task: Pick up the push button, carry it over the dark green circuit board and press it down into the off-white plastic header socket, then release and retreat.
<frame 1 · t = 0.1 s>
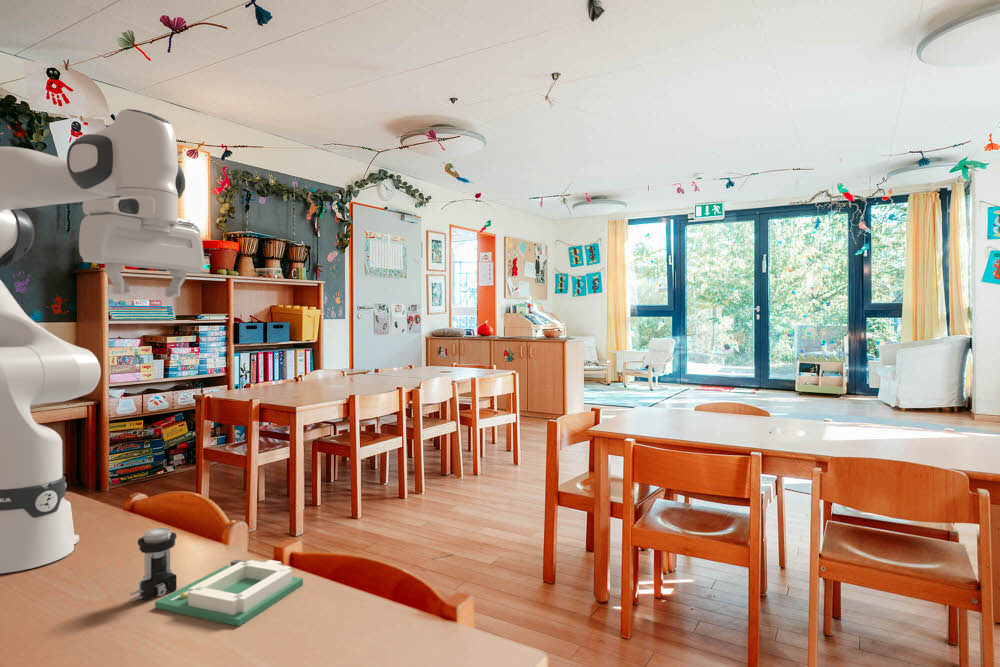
hand: (148, 295, 95), 48 cm above the table, tool pointing down, fingers open, 8 cm apart
lead: (256, 571, 100), on the table
push button: (153, 596, 91), on the table
board: (232, 595, 91), on the table
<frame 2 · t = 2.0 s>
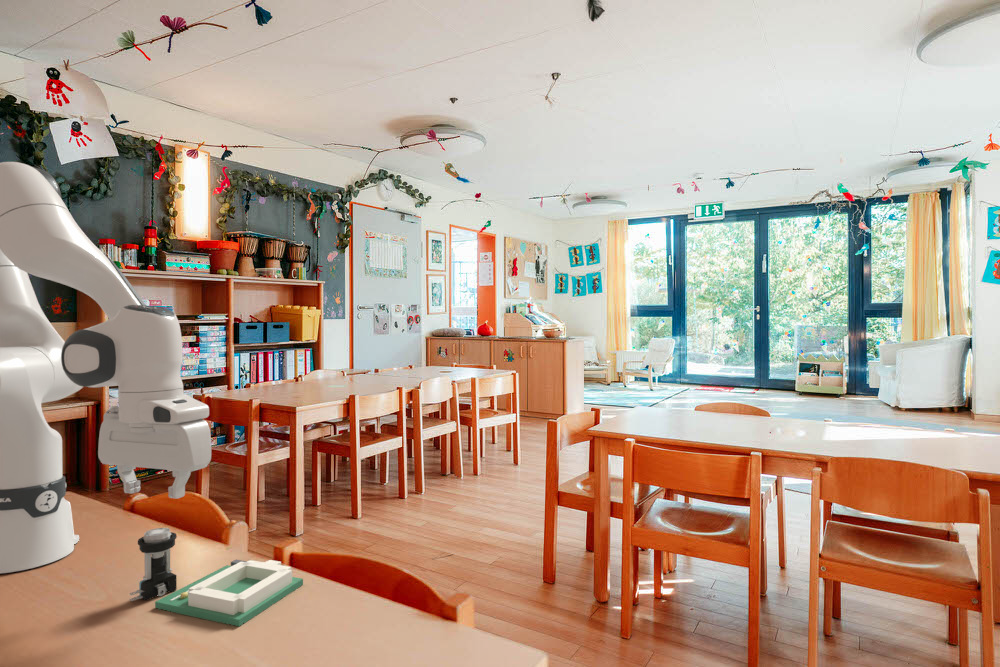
hand: (154, 494, 91), 16 cm above the table, tool pointing down, fingers open, 8 cm apart
nothing on the table moved.
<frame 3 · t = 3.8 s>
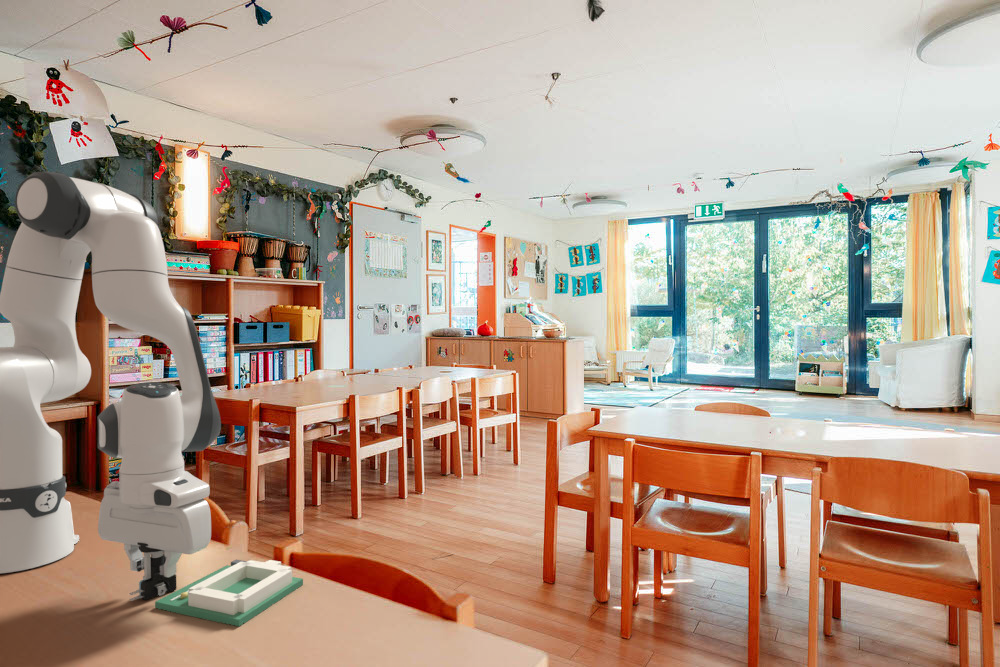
hand: (153, 572, 91), 4 cm above the table, tool pointing down, fingers closed on push button, 5 cm apart
push button: (153, 596, 91), on the table, touching gripper
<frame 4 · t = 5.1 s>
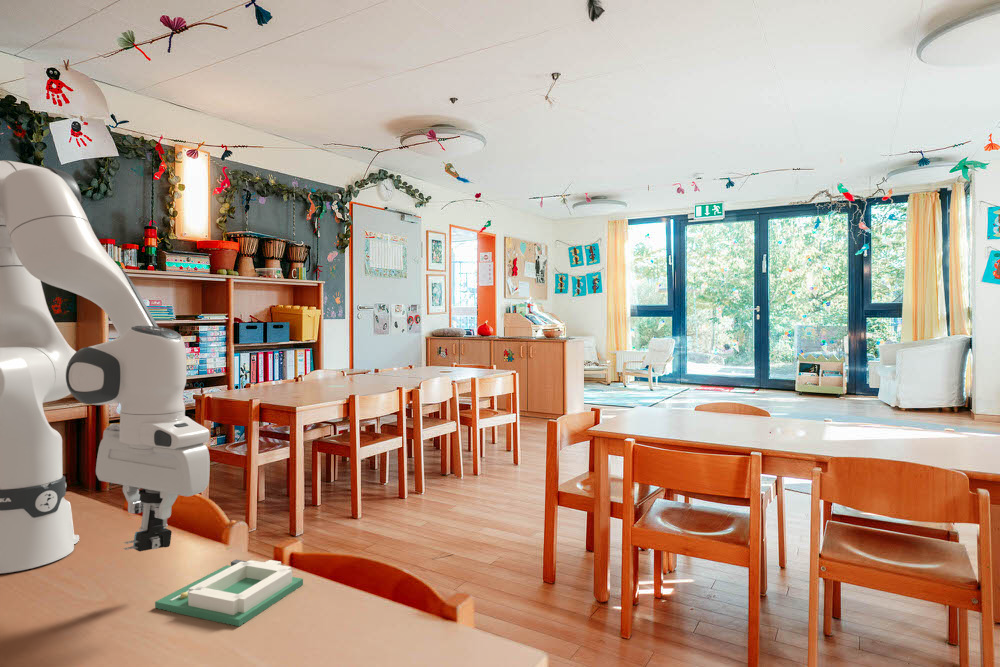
hand: (149, 515, 91), 13 cm above the table, tool pointing down, fingers closed on push button, 4 cm apart
push button: (146, 549, 91), point 7 cm above the table, touching gripper
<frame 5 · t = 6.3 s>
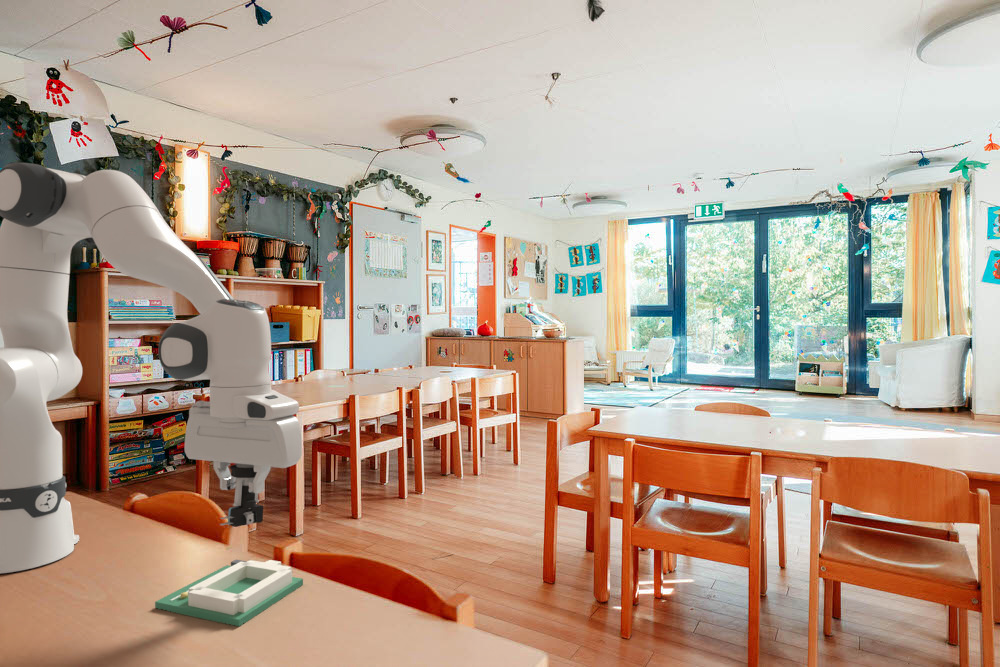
hand: (242, 490, 90), 17 cm above the table, tool pointing down, fingers closed on push button, 4 cm apart
push button: (240, 525, 90), point 11 cm above the table, touching gripper
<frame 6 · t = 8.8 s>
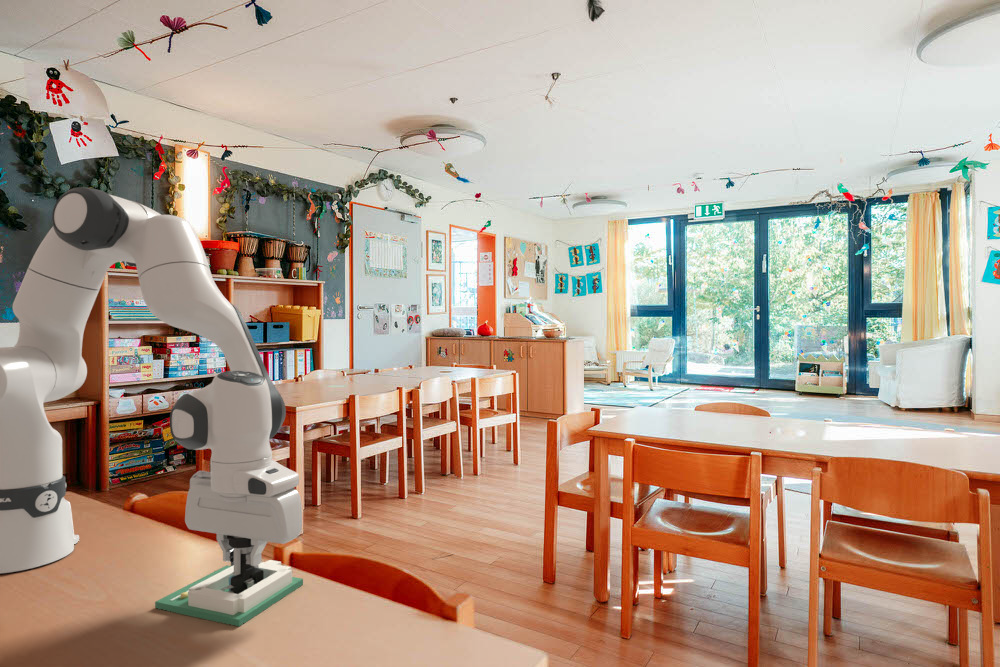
hand: (242, 562, 90), 6 cm above the table, tool pointing down, fingers closed on push button, 3 cm apart
push button: (241, 592, 90), point 1 cm above the table, touching board, gripper
when the fingers open (6 cm above the table, at t = 8.8 s): push button stays where it is, resting on board.
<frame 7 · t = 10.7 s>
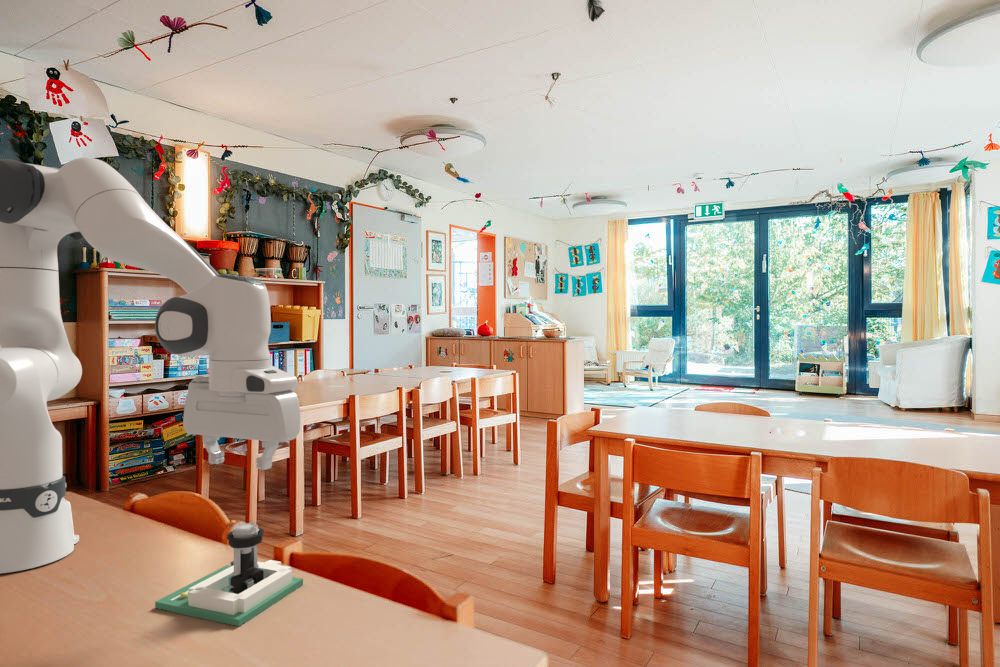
hand: (240, 465, 90), 21 cm above the table, tool pointing down, fingers open, 8 cm apart
push button: (241, 592, 90), point 1 cm above the table, touching board
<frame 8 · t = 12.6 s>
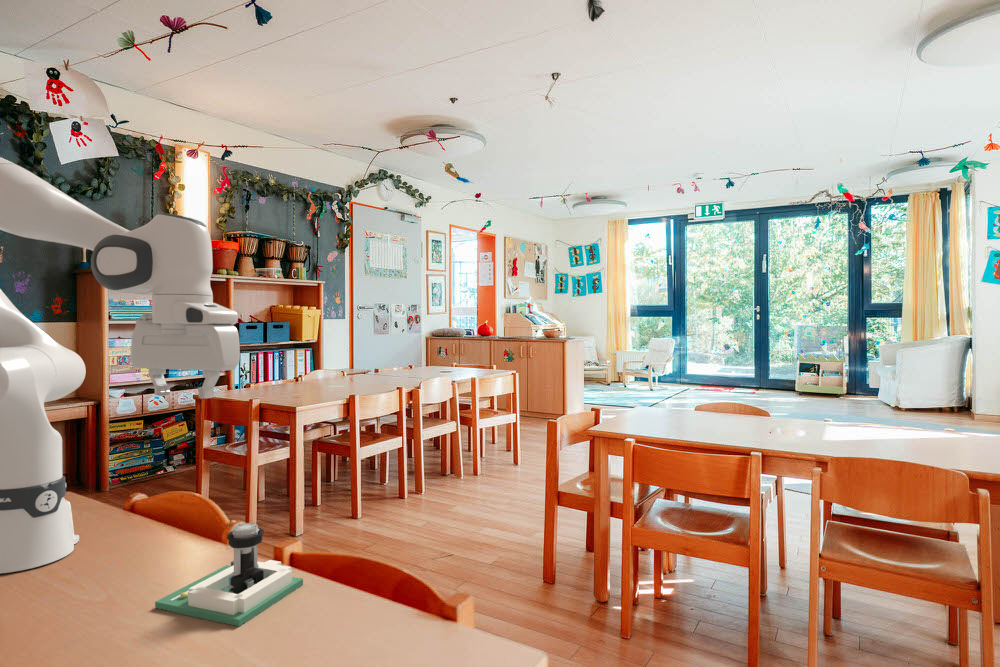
hand: (183, 396, 95), 31 cm above the table, tool pointing down, fingers open, 8 cm apart
nothing on the table moved.
at the end: push button 0.2 cm from the target spot on the board, point 0.8 cm above the board's base; push button tilted 0°; the gripper is holding nothing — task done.
